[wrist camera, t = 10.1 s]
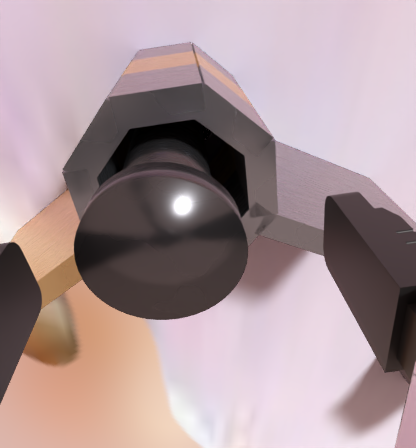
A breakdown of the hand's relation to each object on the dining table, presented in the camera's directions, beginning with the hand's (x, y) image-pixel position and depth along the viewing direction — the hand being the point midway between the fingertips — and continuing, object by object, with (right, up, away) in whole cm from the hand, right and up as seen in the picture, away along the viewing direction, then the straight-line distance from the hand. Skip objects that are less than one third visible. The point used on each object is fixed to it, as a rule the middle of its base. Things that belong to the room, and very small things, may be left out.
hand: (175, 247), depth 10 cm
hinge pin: (-1, +7, +12) cm, 14 cm away
